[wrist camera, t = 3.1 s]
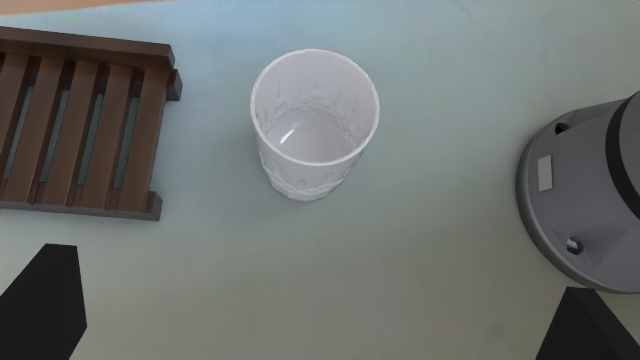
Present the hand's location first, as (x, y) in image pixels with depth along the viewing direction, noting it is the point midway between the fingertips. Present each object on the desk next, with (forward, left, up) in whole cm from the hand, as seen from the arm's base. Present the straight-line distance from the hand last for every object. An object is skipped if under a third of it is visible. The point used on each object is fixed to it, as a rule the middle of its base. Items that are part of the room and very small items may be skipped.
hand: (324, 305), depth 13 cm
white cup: (0, -13, -23) cm, 26 cm away
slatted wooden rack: (+18, -13, -23) cm, 32 cm away
